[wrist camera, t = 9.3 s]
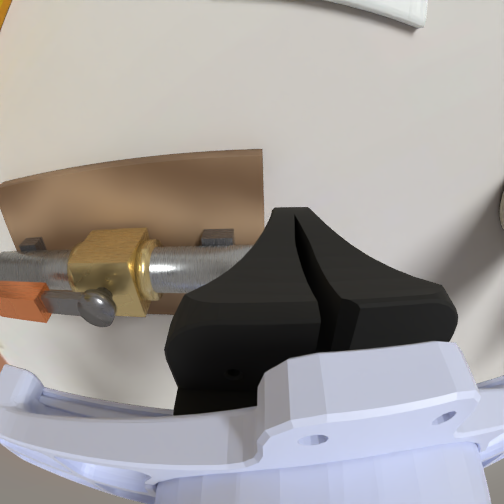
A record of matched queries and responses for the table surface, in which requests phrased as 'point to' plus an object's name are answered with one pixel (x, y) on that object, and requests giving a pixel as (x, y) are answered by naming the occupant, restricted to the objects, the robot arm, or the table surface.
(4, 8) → the packaging box
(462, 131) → the table surface
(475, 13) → the table surface
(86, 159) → the table surface
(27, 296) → the valve lever
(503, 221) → the travel mug
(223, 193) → the base board
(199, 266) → the valve pipe
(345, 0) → the external hard drive
